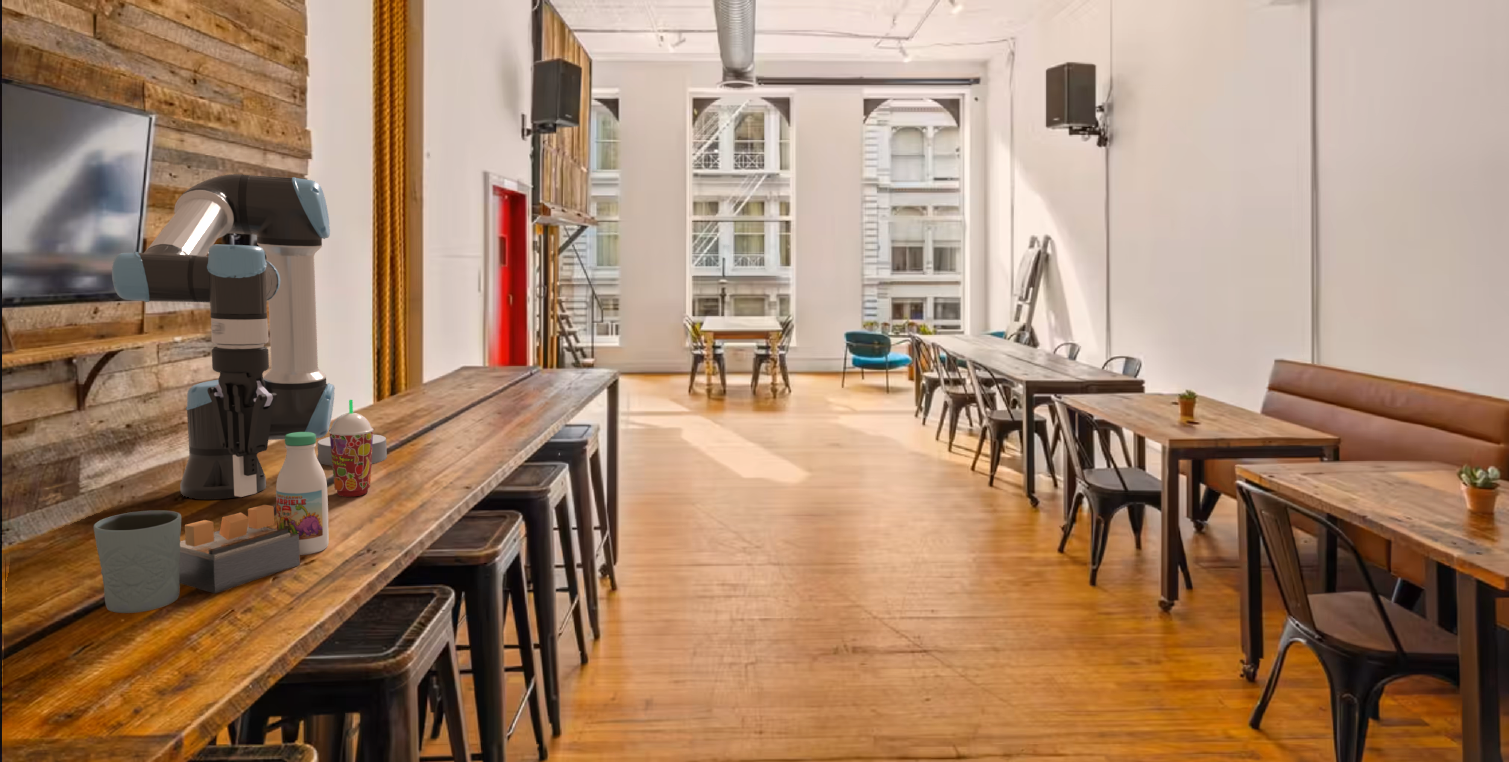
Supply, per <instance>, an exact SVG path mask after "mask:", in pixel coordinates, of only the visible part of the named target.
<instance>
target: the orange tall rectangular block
mask: <svg viewBox="0 0 1509 762" xmlns="http://www.w3.org/2000/svg"><path fill="white" fill-rule="evenodd" d="M214 530H215V527H214V521H210V520H206V519H203V520H200V521H196V522H191V523H188V524H187V523H186V524H185V525H184V535H185V536H184V537H185V538H184V540H185V541H186V545H190V546H193V547H195V546H199V545H202V544H206V543H210V542H213V541H214V532H215V531H214Z"/></svg>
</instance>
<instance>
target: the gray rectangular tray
mask: <svg viewBox="0 0 1509 762" xmlns="http://www.w3.org/2000/svg"><path fill="white" fill-rule="evenodd" d="M219 533H220V530H216V531H214V541H213V542H210V543H206V544H202V545H199V546H195V547H193V546H190V545H186V541H185V539H184V540H180V561H179V565H180V572H179V582H180V585H185V586H188V587H191V588H194V589H198V590H201V591H205V592H207V593H208V592H210V593H212V594H217V593H221V592H223V591H227V590H230V589H232V588H233V589H234V588H235V587H238V586H242V585H244V584H248V583H250V582H253V581H256V580H260V579H262V578H265V577H269V576H272V575H274V574H277V573H281V572H282V571H283V572H284V571H286V570H289V569H292V568H295V567H297V566H298V567H299V566H300V559H301V558H300V555H299V535H296V534H292V533H288V529H286V528H283V529H280V530H277V529H275V528H270V527H268V526H266V527H263V528H259V529H254V528H250V527H249V525H248V528H247V533H246V535H243V536H240V537H236V538H233V539H229V540H227V539H226V538H224V537H223V536H221V535H220V534H219Z"/></svg>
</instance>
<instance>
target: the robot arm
mask: <svg viewBox="0 0 1509 762" xmlns="http://www.w3.org/2000/svg"><path fill="white" fill-rule="evenodd" d="M327 206H328V205H327V202H326V196H325V193H324V191H323V188H322V186H321V185H320V184H319V183H318V181H315V180H313V179H305V178H298V177H296V176H295V177H294V176H293V177H284V176H283V177H282V176H270V175H269V176H267V175H250V174H243V173H240V174H239V173H232V174H231V173H230V174H223V175H218V176H215V177H211V178H208V179H206V180H203V181H201V182H199V183H197V184H195V185H193V186H191V187H190V188H188V189H187V190H185V191H184V192H183V193H182V194H181V195H180V196H179V197H178V199H177V201H176V202H175V205H174V211H173V212H174V215H173V216H172V217H171V218H170V220H168V221H167V224H165V226H164V227H163V228H162V230H161V231H160V232H159V234H158V235H157V236H156V237H155V238H154V240H153V241H152V242H151V243H150V245H149V246H148V247H147V249H146V250H145V251H144V252H138V251H134V252H121V253H118V254H117V255H115V258H114V260H113V263H112V266H111V267H112V268H111V278H112V279H111V280H112V284H113V288H114V291H115V293H116V294H117V296H119V298H120V299H123V300H125V301H136V302H137V301H138V302H139V301H141V302H145V303H149V302H160V303H161V302H163V303H165V302H170V303H172V302H173V303H209V305H210V308H209V309H210V311H209V312H210V324H211V325H210V332H211V333H210V334H211V343H212V344H213V345H216V346H214V347H212V349H211V365H212V370H213V371H214V372H216V373H219V375H218V376H219V377H218V379H214V380H213V379H212V380H208V381H203V382H200V383H196V384H193V385H192V386H191V387H190V388H189V389H188V390H187V397H186V398H187V399H186V401H187V403H186V407H185V410H186V415H187V416H186V417H187V437H188V452H189V453H188V454H189V457H188V460H187V463H186V465H185V468H184V471H183V474H182V478H181V480H180V495H181V494H182V495H183V496H182V495H181V496H182V497H184V496H186V497H185V498H187V497H189V498H188V499H192V498H195V499H196V500H221V499H222V500H223V499H224V500H225V499H232V498H233V499H234V498H242V497H247V496H251V495H255V494H258V493H260V492H262V491H263V490H265V489H266V488H267V479H266V475H265V472H264V469H263V466H262V465H261V463H260V460H259V458H258V454H259V453H261V452H265V451H267V450H268V445H269V441H274V440H275V441H278V440H279V441H281V440H284V441H285V435H287V434H289V433H295V432H311V433H314V434H315V435H316V439H321V438H325V436H326V435H327V434H328V433H329V430H330V428H331V427H330V426H331V421H332V418H333V417H332V415H333V410H334V402H335V389H336V388H335V385H334V384H332V383H330V382H328V383H327V375H326V374H325V372H323V371H322V370H321V369H319V367H318V366H319V365H318V363H319V359H318V335H317V334H318V333H317V332H318V331H317V309H316V308H317V307H316V306H317V305H316V303H317V301H316V279H315V278H316V276H315V275H316V274H315V254H316V253H317V252H318V251H319V250H320V249H322V248H323V239H324V240H325V239H328V238H329V237H330V234H331V229H330V217H329V211H328V207H327ZM228 234H239V235H240V234H241V235H253V236H254V235H255V236H256V243H257V245H258V246H257V245H243V244H220V243H218V244H217V243H216V241H217V240H218V239H220V238H222V237H225V236H226V235H228ZM215 243H216V244H215ZM265 254H266V255H265ZM267 303H268V305H267ZM267 306H268V307H267ZM267 310H268V311H267ZM267 313H268V314H267ZM268 316H269V317H268ZM268 319H269V322H268ZM269 338H270V339H269ZM269 341H270V345H269V346H270V355H269V348H268V347H267V346H265V345H266V344H267V343H269ZM269 356H270V357H269ZM269 359H270V360H269ZM269 361H271V363H270V362H269ZM269 363H270V364H271V365H270V364H269ZM270 367H271V369H270V370H269V371H268V372H267V373H265V375H263V374H264V372H266V371H267V370H268V369H269V368H270ZM195 499H194V500H195Z"/></svg>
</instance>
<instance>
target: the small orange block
mask: <svg viewBox="0 0 1509 762" xmlns="http://www.w3.org/2000/svg"><path fill="white" fill-rule="evenodd" d="M248 523H249V517H248V515H246V514H244V513H243V512H238V513H234V514H229V515H226V516H223V517H221V523H220V528H219V531H220V533H219V534H220V535H221V536H223V537H224V538H226V539H227V540H229V539H233V538H236V537H240V536H243V535H246V533H247V528H248Z"/></svg>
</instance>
